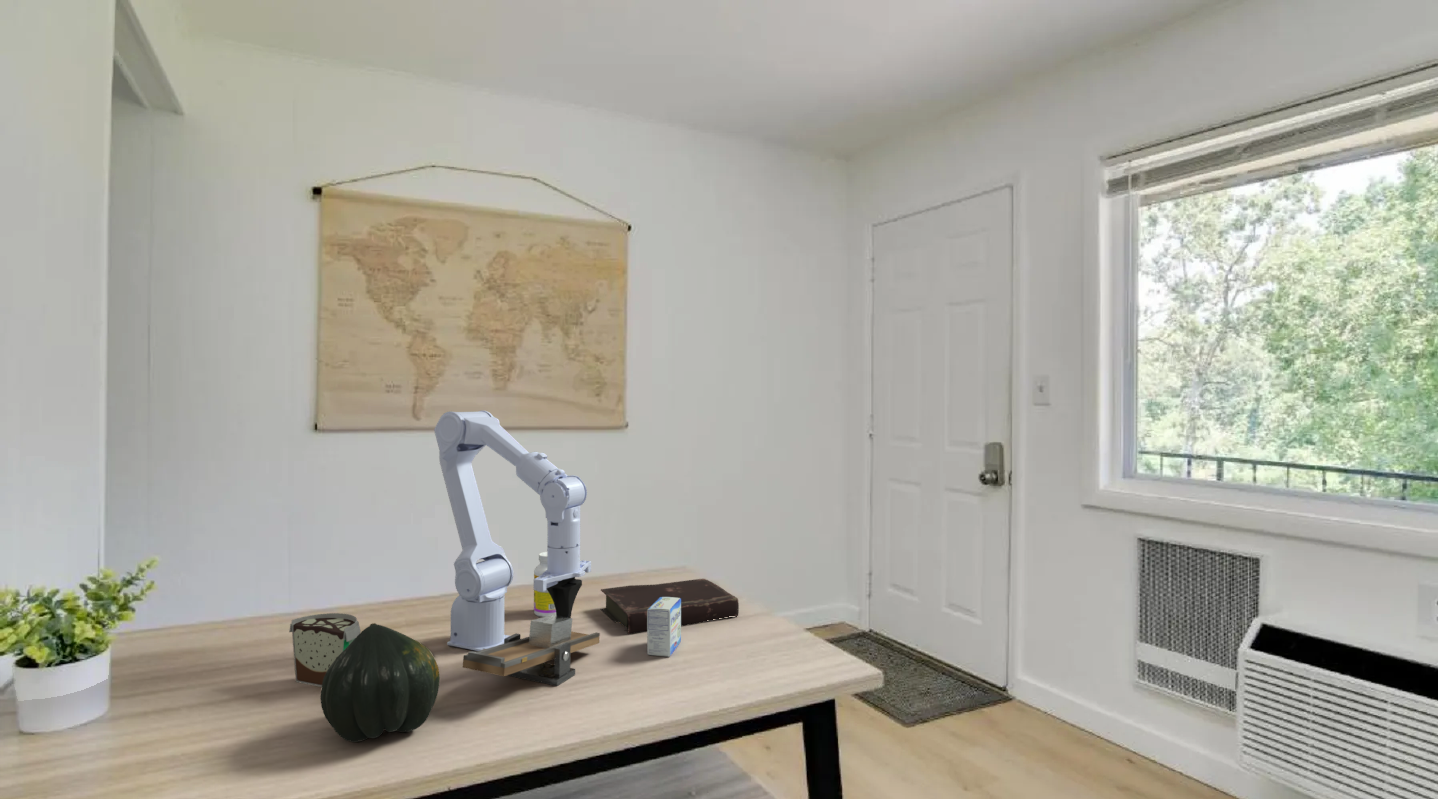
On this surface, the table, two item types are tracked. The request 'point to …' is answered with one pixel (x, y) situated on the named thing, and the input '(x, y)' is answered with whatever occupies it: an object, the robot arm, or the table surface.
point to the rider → (550, 631)
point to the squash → (379, 685)
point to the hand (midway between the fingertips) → (563, 621)
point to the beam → (521, 654)
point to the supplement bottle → (543, 599)
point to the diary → (696, 596)
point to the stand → (547, 666)
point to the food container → (320, 643)
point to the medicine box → (664, 626)
